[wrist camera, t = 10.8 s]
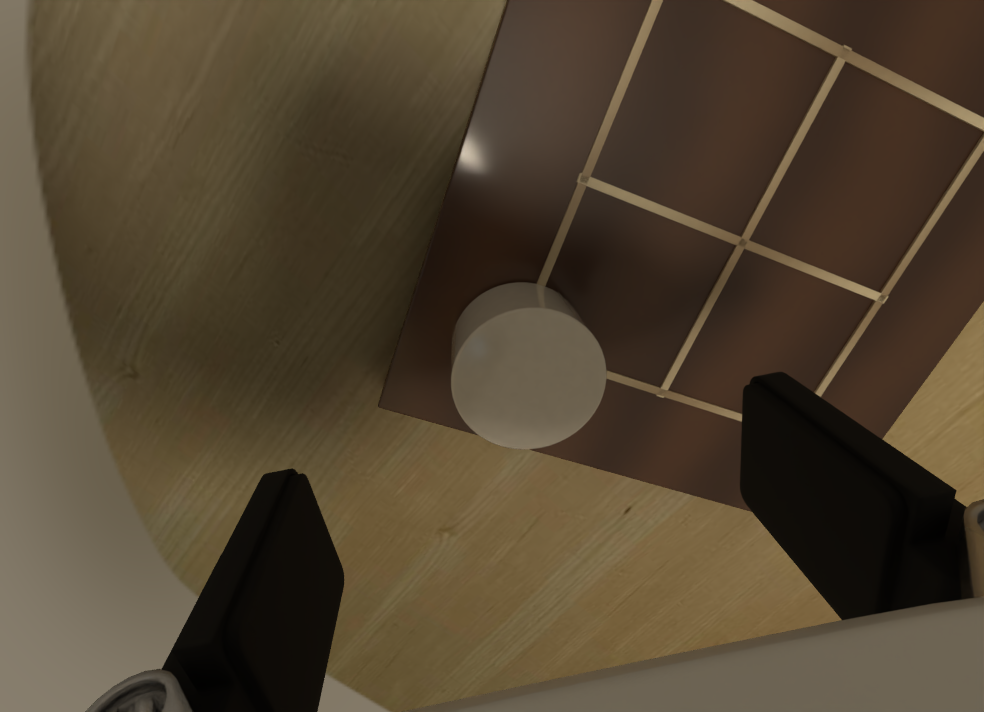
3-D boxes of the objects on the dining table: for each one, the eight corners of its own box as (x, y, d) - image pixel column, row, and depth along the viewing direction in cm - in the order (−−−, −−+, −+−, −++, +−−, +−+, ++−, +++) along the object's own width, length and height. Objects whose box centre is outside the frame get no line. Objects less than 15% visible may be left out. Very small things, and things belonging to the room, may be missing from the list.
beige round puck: (433, 385, 19) (430, 427, 16) (477, 262, 17) (482, 285, 14) (553, 420, 20) (569, 466, 17) (606, 307, 18) (633, 337, 15)
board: (382, 389, 21) (376, 409, 19) (587, -252, 14) (603, -300, 12) (795, 508, 24) (817, 532, 23) (1115, 54, 18) (1176, 46, 16)
